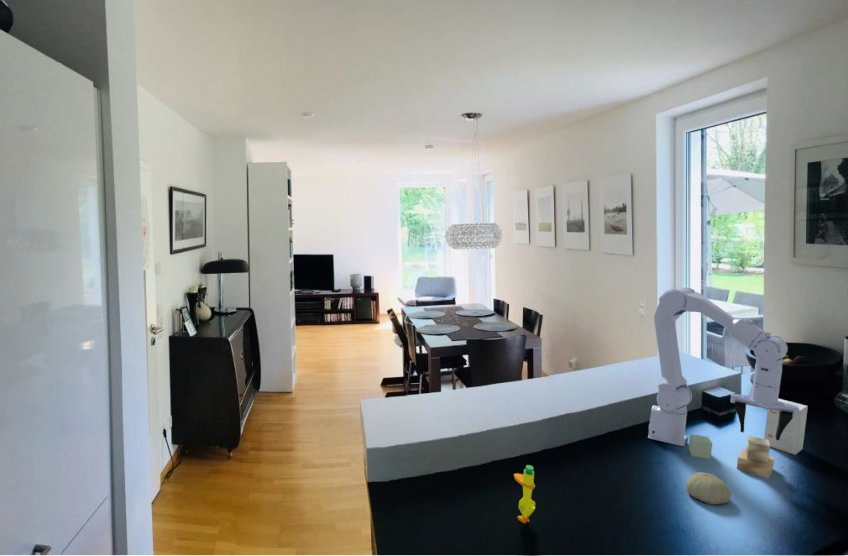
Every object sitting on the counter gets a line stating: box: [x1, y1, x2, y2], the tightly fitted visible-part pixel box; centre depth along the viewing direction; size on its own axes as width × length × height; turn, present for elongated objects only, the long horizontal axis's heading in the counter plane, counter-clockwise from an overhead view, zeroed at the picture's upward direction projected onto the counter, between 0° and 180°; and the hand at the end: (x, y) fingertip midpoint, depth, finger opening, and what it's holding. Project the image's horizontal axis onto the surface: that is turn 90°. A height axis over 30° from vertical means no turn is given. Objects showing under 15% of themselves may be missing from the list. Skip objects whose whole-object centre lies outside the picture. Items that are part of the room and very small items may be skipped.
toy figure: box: [513, 464, 536, 524], centre depth 108 cm, size 7×4×12 cm, turn 30°
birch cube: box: [745, 435, 771, 463], centre depth 135 cm, size 4×4×4 cm
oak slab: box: [736, 448, 775, 479], centre depth 135 cm, size 7×7×4 cm
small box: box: [763, 398, 809, 456], centre depth 149 cm, size 8×6×13 cm
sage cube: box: [688, 433, 713, 460], centre depth 143 cm, size 4×4×4 cm
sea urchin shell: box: [685, 471, 732, 505], centre depth 121 cm, size 9×8×8 cm
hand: (759, 434), depth 134 cm, fingers open, 7 cm apart
